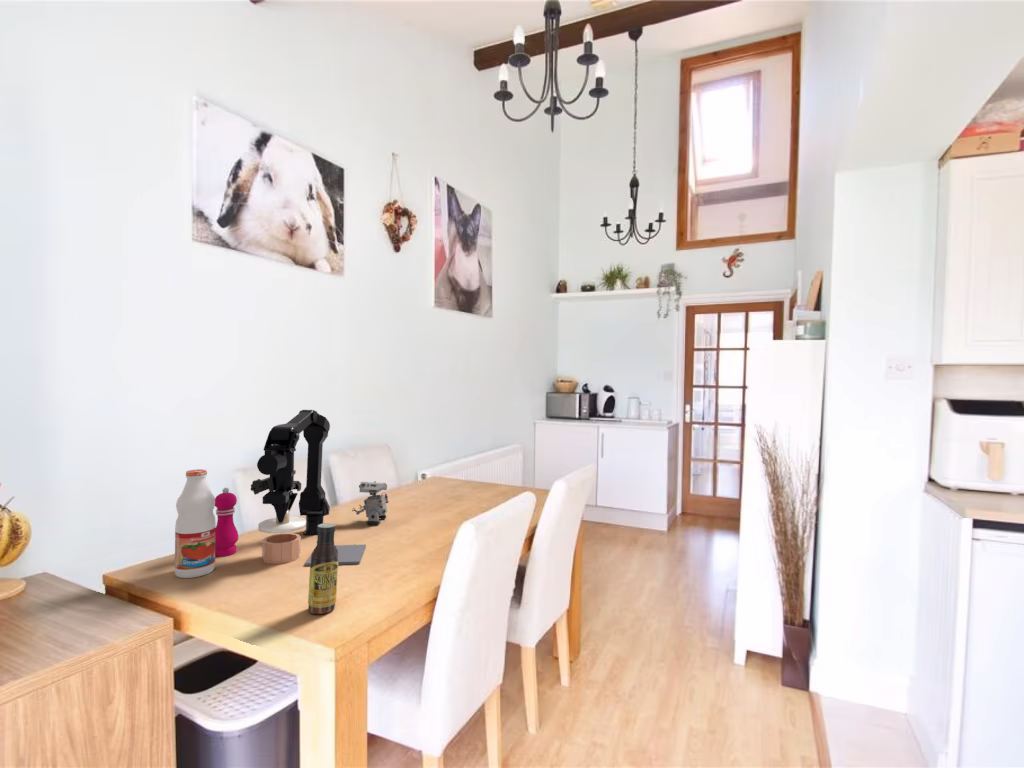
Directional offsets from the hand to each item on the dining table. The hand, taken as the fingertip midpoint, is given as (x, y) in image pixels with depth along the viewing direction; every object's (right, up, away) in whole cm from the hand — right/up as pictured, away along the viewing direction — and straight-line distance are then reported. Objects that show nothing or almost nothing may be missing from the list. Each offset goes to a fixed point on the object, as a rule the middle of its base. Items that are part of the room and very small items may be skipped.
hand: (282, 520), depth 151 cm
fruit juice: (-19, -11, -12) cm, 25 cm away
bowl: (0, -11, 0) cm, 11 cm away
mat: (+15, -12, +3) cm, 19 cm away
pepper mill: (-19, -11, +3) cm, 22 cm away
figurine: (+16, -11, +39) cm, 44 cm away
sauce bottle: (+24, -12, -32) cm, 42 cm away
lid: (0, -2, 0) cm, 2 cm away
